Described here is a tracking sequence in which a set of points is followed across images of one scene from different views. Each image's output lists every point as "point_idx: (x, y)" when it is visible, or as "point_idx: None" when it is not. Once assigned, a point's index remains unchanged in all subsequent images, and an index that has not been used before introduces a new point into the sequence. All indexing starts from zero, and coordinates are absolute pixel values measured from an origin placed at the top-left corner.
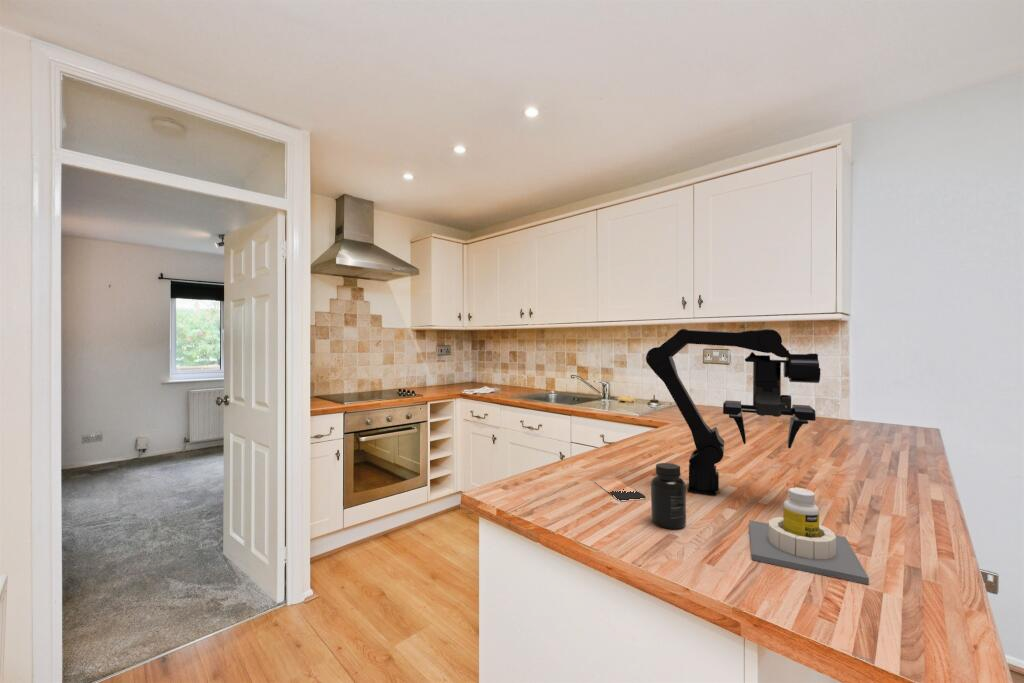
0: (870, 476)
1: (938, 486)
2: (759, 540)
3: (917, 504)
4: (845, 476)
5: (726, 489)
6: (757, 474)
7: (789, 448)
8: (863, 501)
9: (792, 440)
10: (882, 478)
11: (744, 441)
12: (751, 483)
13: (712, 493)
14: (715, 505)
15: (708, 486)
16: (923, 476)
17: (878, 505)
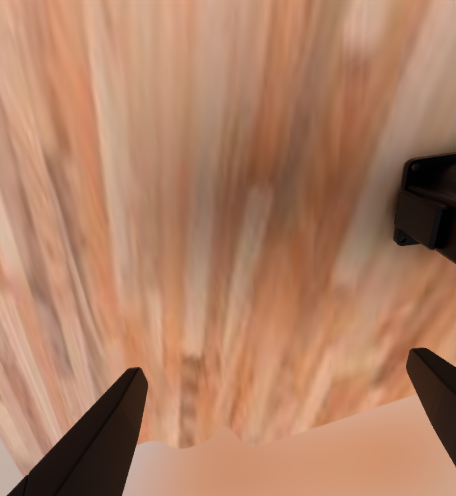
0: None
1: (17, 451)
2: None
3: (3, 365)
4: None
5: (362, 250)
6: (282, 392)
7: (134, 367)
8: (72, 335)
9: (82, 421)
10: None
11: (433, 360)
12: (294, 331)
13: (421, 158)
14: (417, 45)
15: (448, 172)
16: None
17: (45, 327)
